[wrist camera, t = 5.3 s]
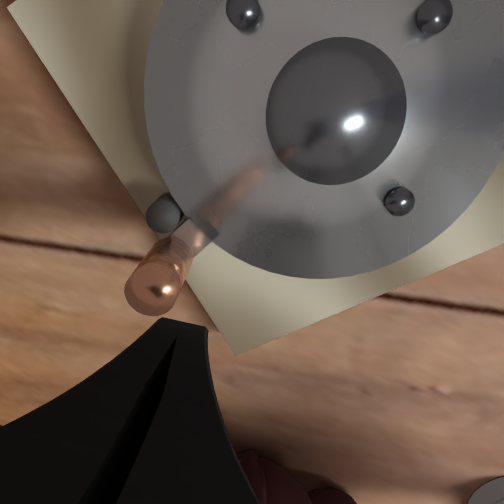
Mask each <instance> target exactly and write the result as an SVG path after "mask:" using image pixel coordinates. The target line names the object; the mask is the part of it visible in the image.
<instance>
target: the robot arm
mask: <svg viewBox="0 0 504 504" xmlns="http://www.w3.org/2000/svg"><path fill="white" fill-rule="evenodd" d="M208 332H209V331H208V330H207V328H206V327H204V326H200V325H195V324H191V323H186V322H182V321H177V320H173V319H168V318H164V317H162V318H160V319H158V320H157V321H156V322H155V323H154V324H153V325H152V326H151V327H150V328H149V329H148V330H147V331H146V332H145V333H144V334H143V335H141V336H140V337H139V338H138V339H137V340H136V341H135V342H134V343H132V344H131V345H130V346H129V347H127V348H126V349H125V350H124V351H123V352H121V353H120V354H119V355H118V356H116V357H115V358H114V359H113V360H111V361H110V362H109V363H107V364H106V365H104V366H103V367H102V368H100V369H99V370H98V371H96V372H95V373H93V374H92V375H91V376H89V377H88V378H86V379H85V380H83V381H82V382H80V383H79V384H77V385H76V386H74V387H73V388H71V389H69V390H68V391H66V392H65V393H63V394H61V395H60V396H58V397H56V398H55V399H53V400H51V401H49V402H48V403H46V404H44V405H42V406H40V407H39V408H37V409H35V410H33V411H31V412H29V413H27V414H26V415H24V416H22V417H20V418H18V419H16V420H14V421H12V422H10V423H8V424H6V425H4V426H2V427H0V504H260V502H259V501H258V499H257V497H256V495H255V493H254V491H253V489H252V487H251V485H250V483H249V481H248V479H247V477H246V475H245V473H244V470H243V468H242V466H241V464H240V462H239V460H238V458H237V455H236V453H235V450H234V448H233V446H232V443H231V441H230V438H229V435H228V433H227V430H226V427H225V424H224V421H223V418H222V415H221V412H220V409H219V405H218V401H217V398H216V394H215V390H214V386H213V381H212V375H211V370H210V364H209V356H208Z"/></svg>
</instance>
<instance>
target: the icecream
mask: <svg viewBox="0 0 504 504" xmlns="http://www.w3.org/2000/svg"><path fill="white" fill-rule="evenodd" d="M236 455H237V458H238V460H239V462H240V464H241V466H242V468H243V470H244V473H245V475H246V477H247V479H248V481H249V483H250V485H251V487H252V489H253V491H254V493H255V495H256V497H257V499H258V501H259V502H260V504H357V503H356V502H355V501H354V499H353V498H352V497H351V496H349V495H348V494H346V493H343V492H340V491H338V490H335V489H333V488H327V489H316V490H311V491H309V492H306V491H305V489H304V487H302V486H301V485H300V484H299V483H298V482H297V481H296V480H295V479H294V478H293V477H292V476H291V475H290V474H289V473H288V472H286V471H285V470H284V469H283V468H282V467H281V466H279V465H278V464H276V463H274V462H272V461H270V460H268V459H265V458H262V457H258V456H257V453H256V451H255V450H254V449H251V450H248V451H244V452H236Z"/></svg>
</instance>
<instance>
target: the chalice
mask: <svg viewBox="0 0 504 504" xmlns="http://www.w3.org/2000/svg"><path fill="white" fill-rule="evenodd" d="M468 504H504V477H501V478H497V479H494V480H492V481H490V482H488V483H486V484H484V485H482V486H481V487H480V488H479V489H477V490H476V491H475V492H474V493H473V495H472V496H471V498H470V499H469V501H468Z"/></svg>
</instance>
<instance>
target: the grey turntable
mask: <svg viewBox="0 0 504 504" xmlns="http://www.w3.org/2000/svg"><path fill="white" fill-rule="evenodd" d="M144 109H145V117H146V124H147V132H148V136H149V140H150V144H151V147H152V151H153V155H154V158H155V160H156V163H157V166H158V168H159V171H160V173H161V176H162V178H163V180H164V182H165V184H166V185H167V187H168V189H169V191H170V193H171V195H172V197H173V198H174V200H175V201H176V202H177V204H178V205H179V207H180V208H181V209H182V211H183V212H184V214H185V215H186V216H187V218H186V219H185V220H184V221H183V222H181V223H180V224H179V225H178V226H177V227H176V228H175V229H174V230H173V231H172V232H171V233H170V234H169V235H168V236H167V237H166V238H162V239H160V240H158V241H157V242H156V243H155V244H154V245H153V247H152V248H151V249H150V251H149V252H148V253H147V255H146V256H145V257H144V259H143V260H142V261H141V263H140V264H139V265H138V267H137V268H136V269H135V271H134V272H133V273H132V275H131V276H130V277H129V279H128V280H127V282H126V284H125V289H124V293H125V297H126V300H127V302H128V303H129V304H130V306H131V307H132V308H133V309H135V310H136V311H137V312H139V313H141V314H144V315H148V316H159V315H162V314H165V313H167V312H168V311H169V310H170V309H171V308H172V307H173V305H174V303H175V301H176V299H177V297H178V294H179V292H180V290H181V288H182V285H183V283H184V281H185V279H186V277H187V274H188V272H189V270H190V268H191V265H192V262H193V258H194V257H195V256H196V255H197V254H199V253H200V252H201V251H202V250H203V249H204V248H205V247H206V246H207V245H209V244H210V243H211V242H213V243H214V244H216V245H217V246H219V247H220V248H222V249H223V250H225V251H226V252H227V253H229V254H230V255H232V256H234V257H236V258H238V259H240V260H242V261H244V262H246V263H248V264H249V265H252V266H254V267H257V268H260V269H263V270H265V271H268V272H271V273H276V274H280V275H284V276H289V277H297V278H306V279H333V278H341V277H349V276H354V275H358V274H362V273H367V272H371V271H374V270H377V269H379V268H382V267H385V266H387V265H390V264H393V263H395V262H397V261H399V260H401V259H403V258H405V257H407V256H409V255H411V254H413V253H414V252H416V251H417V250H419V249H420V248H422V247H424V246H425V245H427V244H428V243H430V242H431V241H433V240H434V239H435V238H436V237H437V236H439V235H440V234H441V233H442V232H444V231H445V230H446V229H447V228H449V227H450V226H451V225H452V224H453V223H454V222H455V221H456V220H457V219H458V218H459V217H460V216H461V215H462V214H463V213H464V211H465V210H466V209H467V208H468V207H469V206H470V204H471V203H472V202H473V201H474V199H475V198H476V197H477V196H478V194H479V193H480V192H481V190H482V189H483V187H484V186H485V184H486V182H487V181H488V179H489V178H490V176H491V174H492V173H493V171H494V170H495V168H496V166H497V164H498V162H499V159H500V157H501V155H502V153H503V151H504V0H163V3H162V6H161V8H160V11H159V14H158V16H157V19H156V22H155V24H154V27H153V31H152V35H151V39H150V44H149V48H148V52H147V58H146V67H145V76H144Z"/></svg>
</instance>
